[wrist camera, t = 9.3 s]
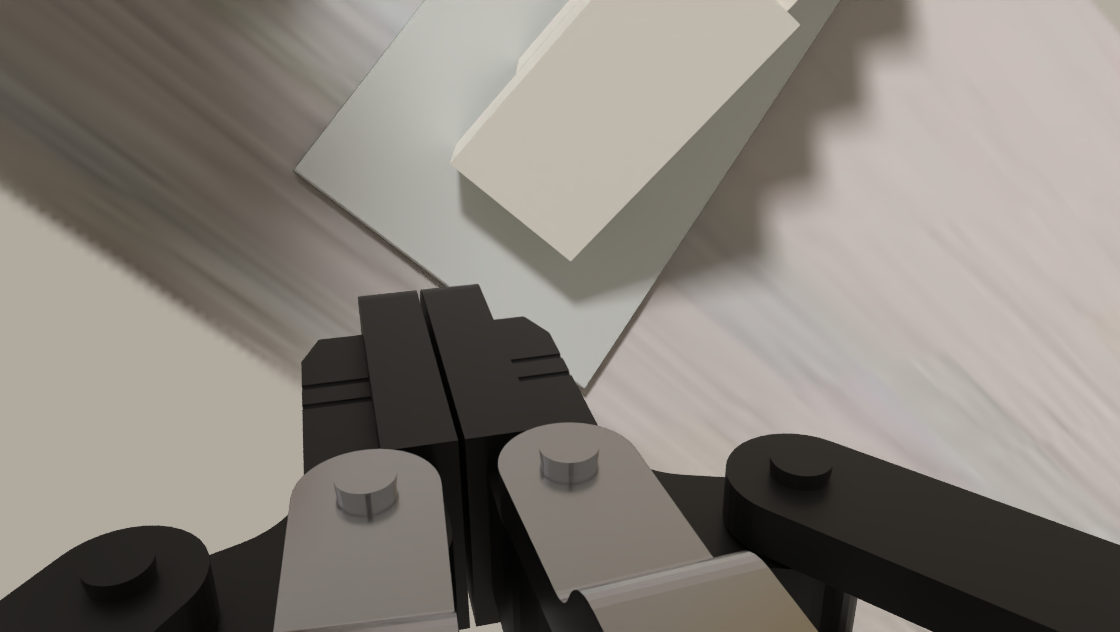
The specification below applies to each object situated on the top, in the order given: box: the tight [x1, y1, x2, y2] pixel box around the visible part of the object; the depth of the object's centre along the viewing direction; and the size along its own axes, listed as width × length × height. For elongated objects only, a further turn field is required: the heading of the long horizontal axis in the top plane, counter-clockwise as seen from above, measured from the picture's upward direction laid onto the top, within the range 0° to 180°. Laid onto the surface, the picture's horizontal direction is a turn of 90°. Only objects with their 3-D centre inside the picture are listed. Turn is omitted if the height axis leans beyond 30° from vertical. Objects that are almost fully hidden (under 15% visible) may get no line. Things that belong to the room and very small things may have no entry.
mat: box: [293, 0, 840, 388], centre depth 35 cm, size 12×21×1 cm, turn 144°
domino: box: [450, 0, 800, 261], centre depth 30 cm, size 5×2×10 cm
